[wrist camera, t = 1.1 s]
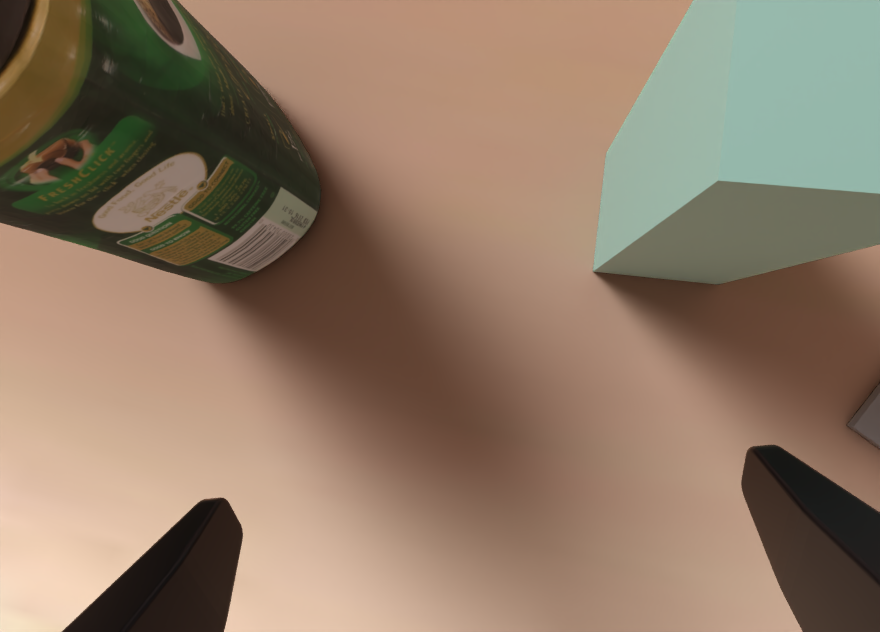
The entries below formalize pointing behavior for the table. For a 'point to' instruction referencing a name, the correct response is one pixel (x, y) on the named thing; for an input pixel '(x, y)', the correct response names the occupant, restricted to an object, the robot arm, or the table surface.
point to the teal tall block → (749, 144)
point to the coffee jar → (145, 140)
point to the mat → (868, 418)
